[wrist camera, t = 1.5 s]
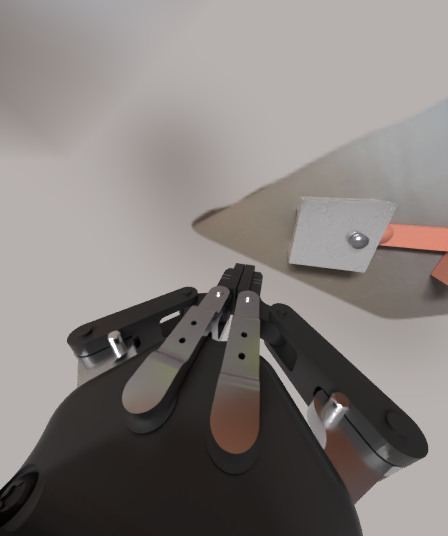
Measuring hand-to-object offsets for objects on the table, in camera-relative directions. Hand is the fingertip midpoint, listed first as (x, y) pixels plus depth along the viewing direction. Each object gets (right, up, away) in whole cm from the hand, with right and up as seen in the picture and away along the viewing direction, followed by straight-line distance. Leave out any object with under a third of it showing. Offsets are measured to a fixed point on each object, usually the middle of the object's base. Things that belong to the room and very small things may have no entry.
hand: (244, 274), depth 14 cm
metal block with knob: (+14, +7, +12) cm, 20 cm away
